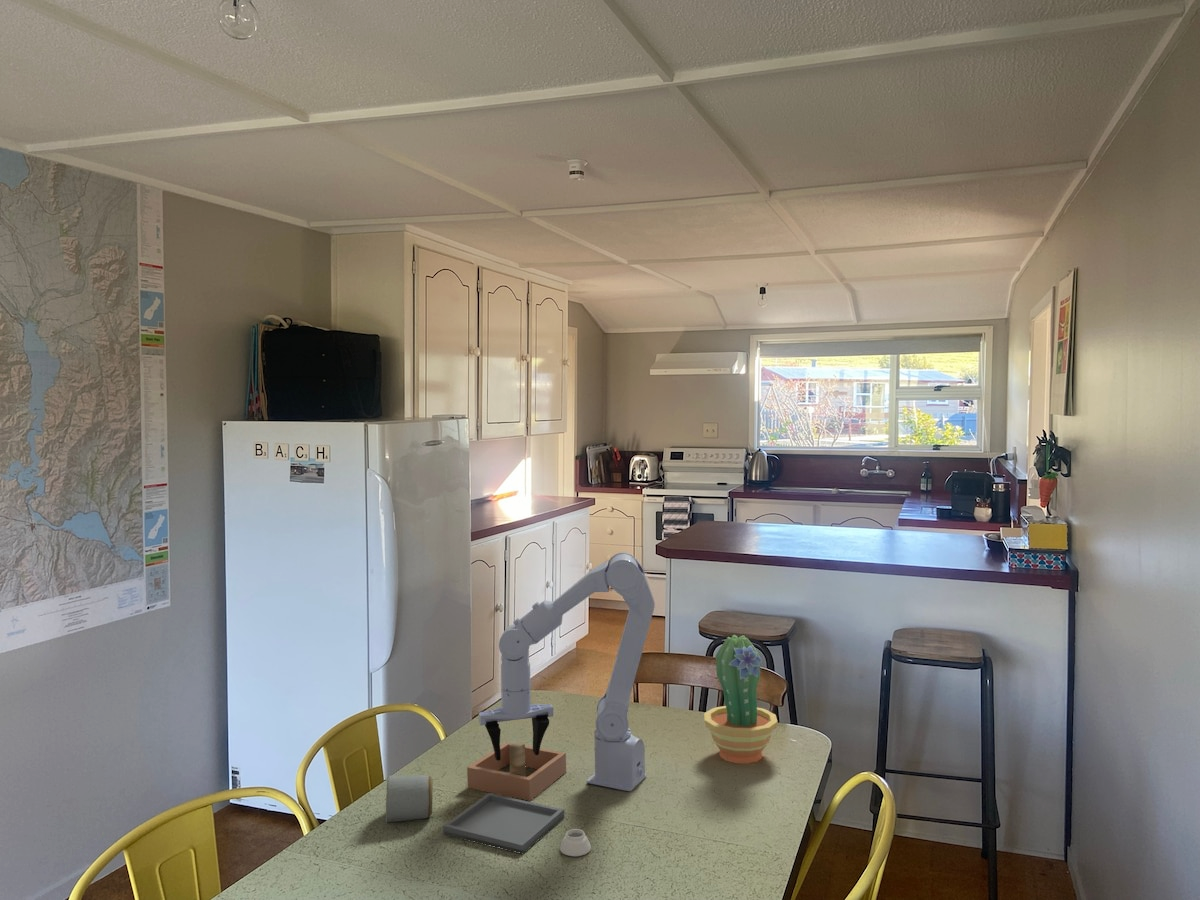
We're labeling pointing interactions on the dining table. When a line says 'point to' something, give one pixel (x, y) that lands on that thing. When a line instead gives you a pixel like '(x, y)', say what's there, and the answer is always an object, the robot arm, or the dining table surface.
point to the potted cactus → (739, 704)
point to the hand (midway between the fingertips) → (516, 755)
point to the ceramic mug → (408, 797)
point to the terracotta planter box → (512, 785)
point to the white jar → (575, 843)
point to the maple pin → (517, 758)
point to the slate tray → (504, 822)
